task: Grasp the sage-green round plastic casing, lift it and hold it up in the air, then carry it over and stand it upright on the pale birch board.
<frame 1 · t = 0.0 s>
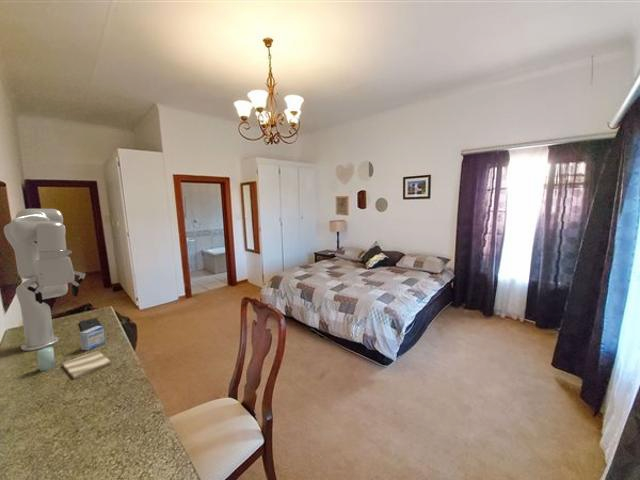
hand: (58, 299, 102), 31 cm above the table, tool pointing down, fingers open, 9 cm apart
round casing: (47, 368, 111), on the table
smart home device: (90, 327, 152), on the table
birch board: (87, 365, 113), on the table
medicine box: (93, 346, 129), on the table
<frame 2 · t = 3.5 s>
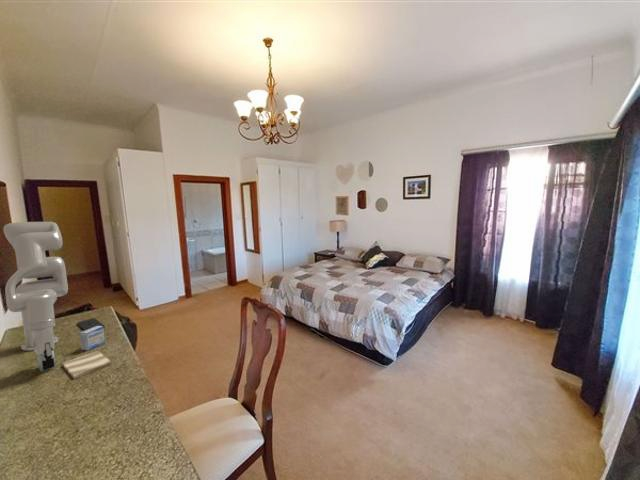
hand: (47, 365, 111), 1 cm above the table, tool pointing down, fingers closed on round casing, 4 cm apart
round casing: (47, 368, 111), on the table, touching gripper
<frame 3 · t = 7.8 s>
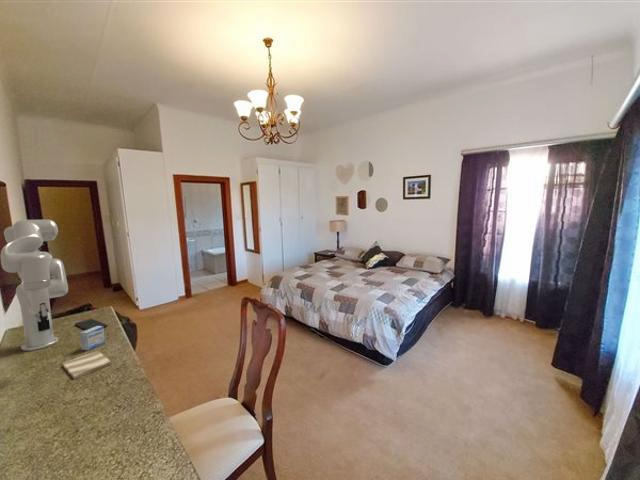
hand: (42, 328, 109), 17 cm above the table, tool pointing down, fingers closed on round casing, 4 cm apart
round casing: (43, 330, 109), point 16 cm above the table, touching gripper
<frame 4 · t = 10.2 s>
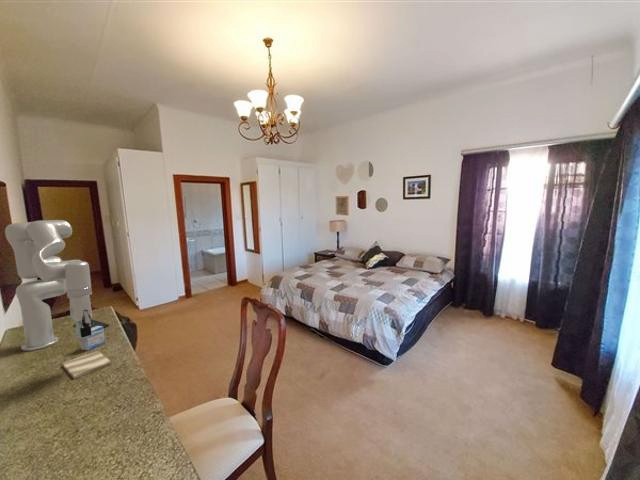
hand: (84, 334, 111), 14 cm above the table, tool pointing down, fingers closed on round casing, 4 cm apart
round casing: (84, 336, 111), point 13 cm above the table, touching gripper
when the fingers open (4 cm above the table, at t = 12.2 s): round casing drops 1 cm, resting on birch board.
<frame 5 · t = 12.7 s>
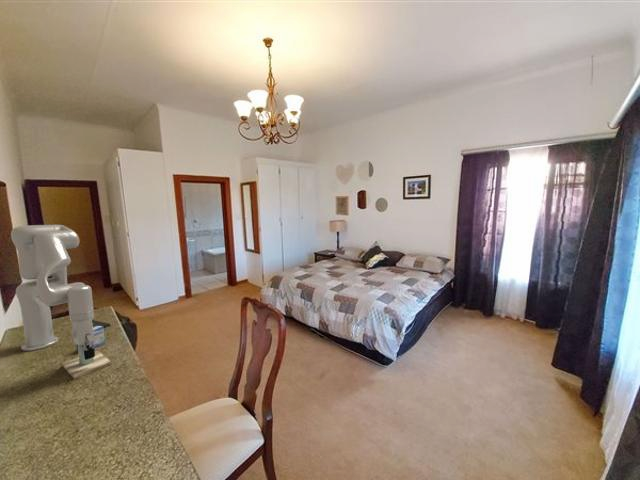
hand: (86, 354, 112), 5 cm above the table, tool pointing down, fingers open, 9 cm apart
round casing: (86, 362, 113), point 1 cm above the table, touching birch board
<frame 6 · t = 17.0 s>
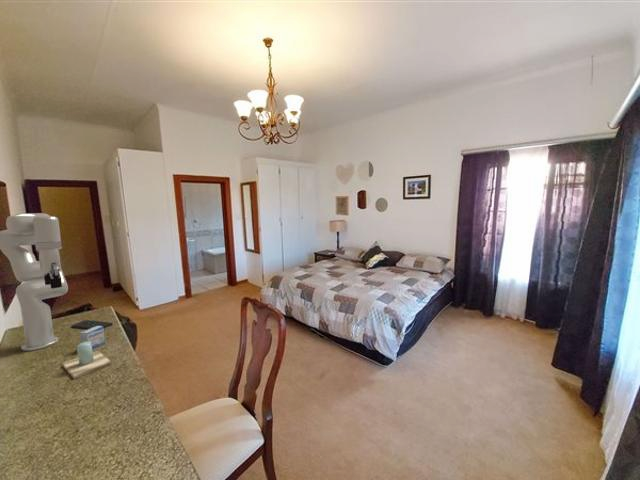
hand: (53, 285, 113), 33 cm above the table, tool pointing down, fingers open, 9 cm apart
at the end: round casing inside the target area on the birch board (0.2 cm from its centre), point 1.3 cm above the birch board's base; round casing tilted 3°; the gripper is holding nothing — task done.
